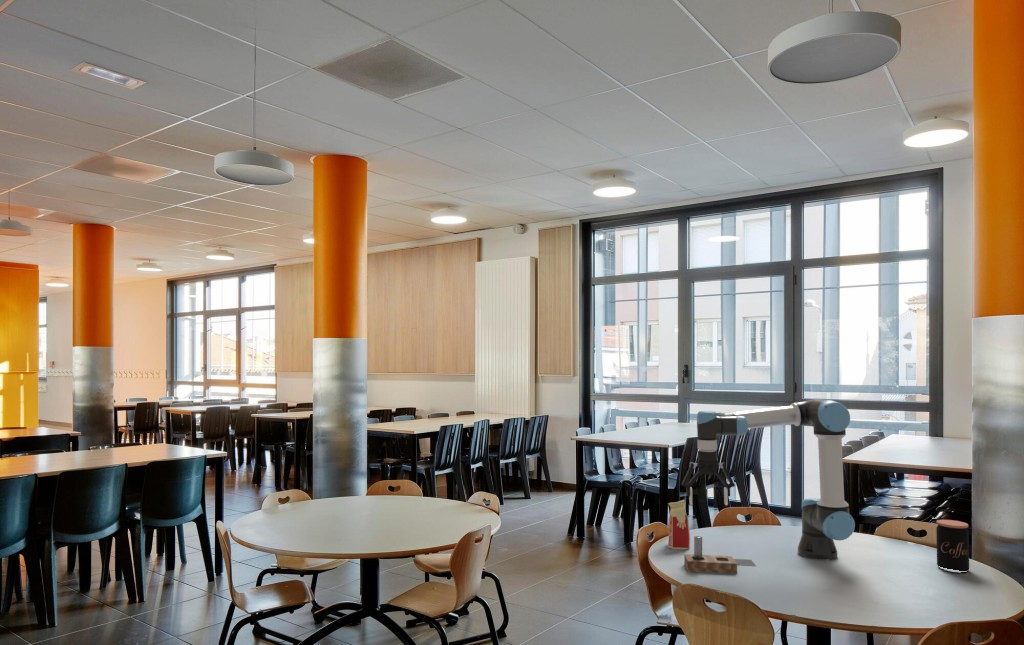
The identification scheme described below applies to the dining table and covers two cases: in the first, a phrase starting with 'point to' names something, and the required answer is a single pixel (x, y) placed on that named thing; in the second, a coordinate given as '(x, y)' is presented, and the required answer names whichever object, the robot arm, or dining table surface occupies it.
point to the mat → (744, 562)
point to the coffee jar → (952, 545)
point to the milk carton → (678, 527)
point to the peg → (697, 548)
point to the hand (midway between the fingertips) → (708, 504)
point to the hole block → (710, 564)
